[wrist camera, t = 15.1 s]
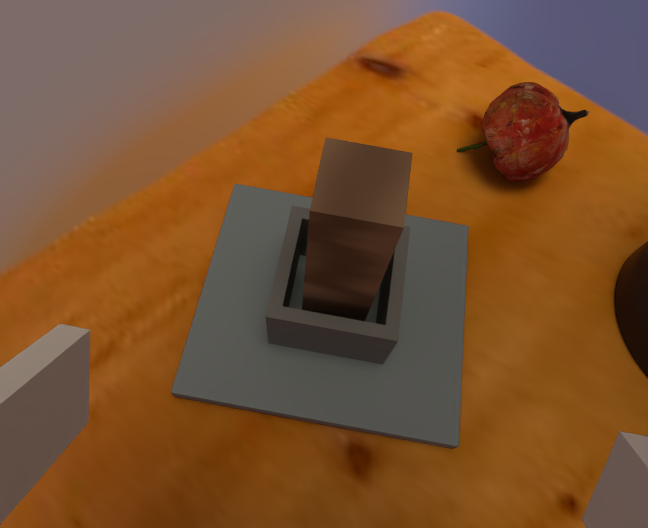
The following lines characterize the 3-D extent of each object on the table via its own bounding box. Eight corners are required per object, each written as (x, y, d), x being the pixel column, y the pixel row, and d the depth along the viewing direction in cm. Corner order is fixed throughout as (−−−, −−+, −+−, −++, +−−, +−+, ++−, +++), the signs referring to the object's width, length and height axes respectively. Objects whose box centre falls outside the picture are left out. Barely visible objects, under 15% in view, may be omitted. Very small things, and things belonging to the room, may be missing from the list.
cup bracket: (463, 233, 39) (492, 187, 33) (452, 448, 32) (488, 435, 26) (236, 192, 39) (227, 140, 34) (174, 396, 32) (151, 372, 26)
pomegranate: (463, 208, 43) (594, 190, 37) (432, 142, 38) (576, 110, 32) (476, 151, 47) (597, 126, 41) (450, 85, 42) (581, 47, 36)
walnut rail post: (367, 280, 35) (412, 153, 23) (359, 334, 33) (404, 227, 21) (311, 270, 35) (325, 137, 23) (300, 323, 33) (309, 210, 21)
